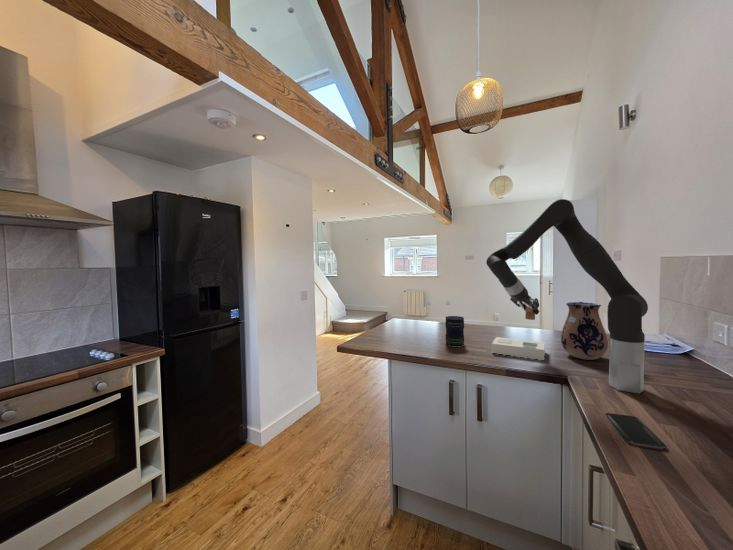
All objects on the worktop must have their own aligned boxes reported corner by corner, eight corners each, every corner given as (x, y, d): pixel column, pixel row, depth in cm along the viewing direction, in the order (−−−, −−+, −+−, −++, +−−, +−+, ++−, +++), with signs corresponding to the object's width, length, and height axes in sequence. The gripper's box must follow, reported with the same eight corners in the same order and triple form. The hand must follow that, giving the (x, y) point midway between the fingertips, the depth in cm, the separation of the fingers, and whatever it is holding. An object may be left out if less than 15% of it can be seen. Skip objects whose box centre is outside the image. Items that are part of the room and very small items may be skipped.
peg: (534, 320, 139) (534, 303, 138) (525, 319, 141) (525, 302, 140) (535, 318, 142) (535, 302, 142) (525, 317, 144) (526, 301, 144)
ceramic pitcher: (567, 361, 132) (568, 306, 130) (554, 348, 152) (554, 299, 150) (615, 365, 126) (616, 307, 125) (595, 350, 146) (595, 300, 145)
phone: (628, 442, 73) (603, 412, 87) (628, 446, 73) (603, 416, 87) (669, 448, 70) (637, 416, 84) (669, 453, 70) (637, 420, 84)
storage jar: (466, 343, 163) (466, 316, 162) (461, 348, 154) (461, 320, 154) (448, 341, 168) (448, 315, 167) (443, 345, 160) (442, 318, 159)
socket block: (544, 360, 133) (544, 349, 133) (491, 353, 145) (491, 343, 144) (544, 352, 145) (544, 342, 145) (496, 346, 157) (496, 336, 156)
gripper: (533, 283, 131) (551, 308, 136) (506, 281, 144) (524, 304, 149) (524, 296, 129) (543, 321, 135) (498, 293, 142) (516, 315, 148)
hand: (533, 312), depth 142 cm, fingers closed on peg, 4 cm apart
